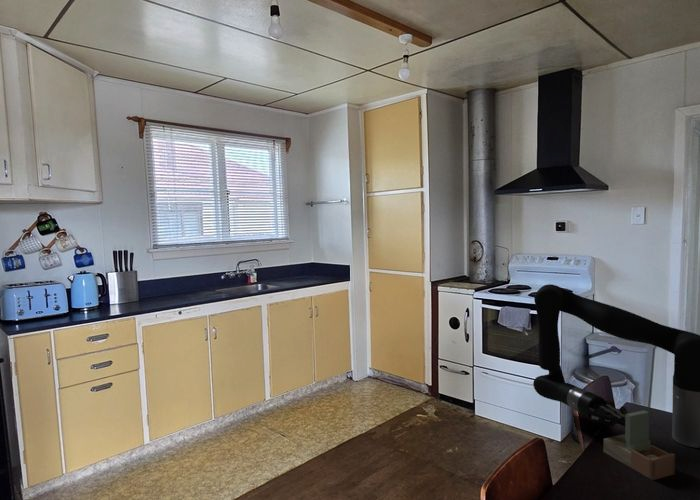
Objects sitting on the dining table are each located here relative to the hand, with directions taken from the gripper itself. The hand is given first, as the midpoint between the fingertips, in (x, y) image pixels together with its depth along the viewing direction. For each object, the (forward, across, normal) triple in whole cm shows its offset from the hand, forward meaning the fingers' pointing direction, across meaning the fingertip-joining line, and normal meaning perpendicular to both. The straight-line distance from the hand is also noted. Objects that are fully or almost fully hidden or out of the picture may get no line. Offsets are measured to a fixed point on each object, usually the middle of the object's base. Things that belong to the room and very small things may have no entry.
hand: (634, 426), depth 124 cm
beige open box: (-2, 0, +10) cm, 10 cm away
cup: (+6, 0, +10) cm, 11 cm away
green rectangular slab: (+1, 0, +6) cm, 6 cm away
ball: (+6, 0, +8) cm, 9 cm away
